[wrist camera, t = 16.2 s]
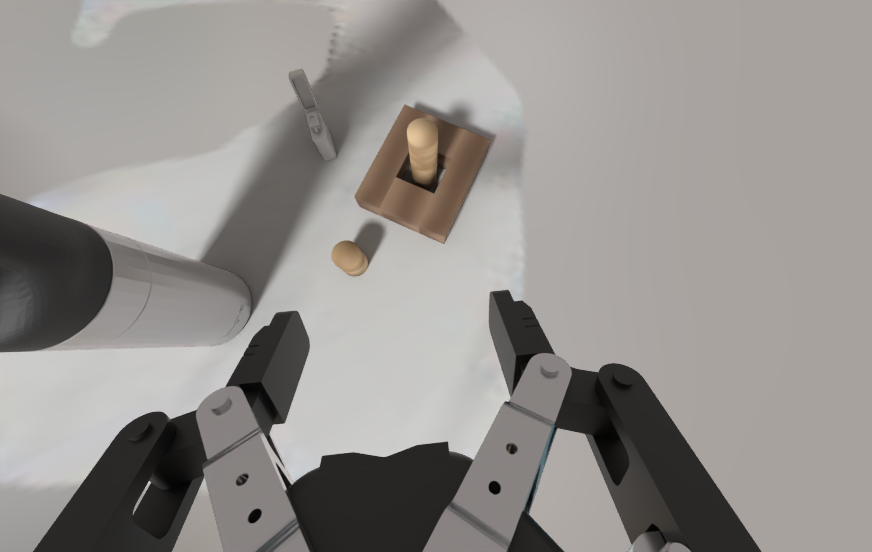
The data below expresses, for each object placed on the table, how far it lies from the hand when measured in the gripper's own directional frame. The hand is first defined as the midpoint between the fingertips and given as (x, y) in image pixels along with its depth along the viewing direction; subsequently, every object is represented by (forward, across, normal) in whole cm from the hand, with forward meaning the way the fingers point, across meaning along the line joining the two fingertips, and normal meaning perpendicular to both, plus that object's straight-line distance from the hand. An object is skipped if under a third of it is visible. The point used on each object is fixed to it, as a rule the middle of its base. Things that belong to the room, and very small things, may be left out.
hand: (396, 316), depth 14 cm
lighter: (+38, +11, -1) cm, 39 cm away
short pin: (+24, +7, +12) cm, 28 cm away
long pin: (+32, -2, +4) cm, 32 cm away
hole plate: (+32, -2, +4) cm, 32 cm away
